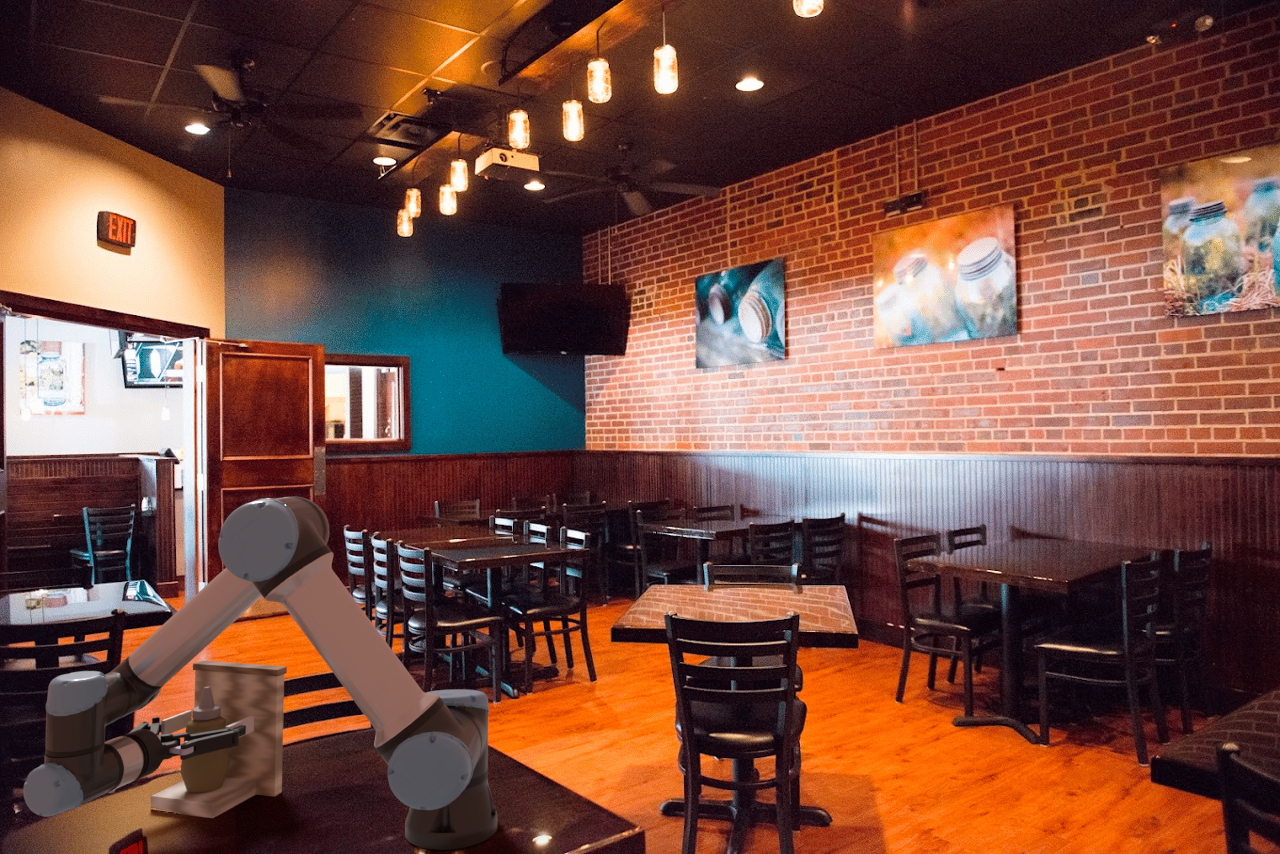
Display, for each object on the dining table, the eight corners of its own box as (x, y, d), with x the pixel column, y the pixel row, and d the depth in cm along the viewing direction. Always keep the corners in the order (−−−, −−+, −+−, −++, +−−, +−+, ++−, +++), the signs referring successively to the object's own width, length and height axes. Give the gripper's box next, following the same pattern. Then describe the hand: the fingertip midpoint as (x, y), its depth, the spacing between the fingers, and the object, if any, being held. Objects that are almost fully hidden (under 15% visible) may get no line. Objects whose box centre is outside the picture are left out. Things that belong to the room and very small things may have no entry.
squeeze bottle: (209, 798, 151) (211, 694, 152) (169, 794, 152) (171, 692, 153) (239, 781, 159) (241, 683, 160) (200, 777, 160) (203, 680, 161)
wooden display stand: (284, 792, 160) (286, 666, 161) (234, 820, 147) (237, 684, 148) (199, 782, 165) (203, 660, 166) (144, 809, 152) (148, 677, 153)
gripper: (64, 775, 142) (164, 735, 162) (191, 789, 136) (278, 746, 156) (65, 729, 142) (165, 695, 163) (192, 741, 136) (279, 705, 157)
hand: (220, 720), depth 160 cm, fingers open, 13 cm apart
